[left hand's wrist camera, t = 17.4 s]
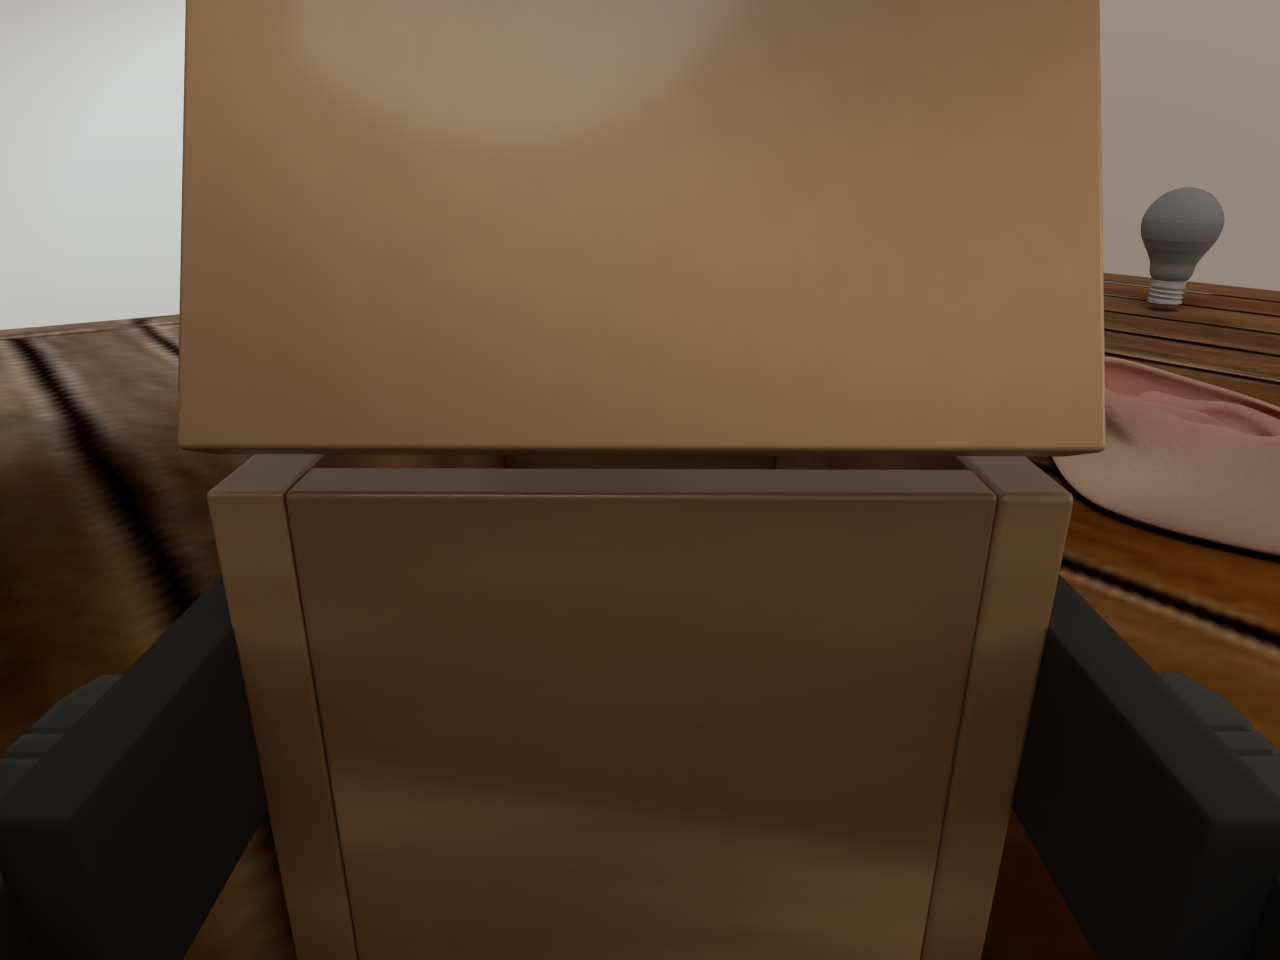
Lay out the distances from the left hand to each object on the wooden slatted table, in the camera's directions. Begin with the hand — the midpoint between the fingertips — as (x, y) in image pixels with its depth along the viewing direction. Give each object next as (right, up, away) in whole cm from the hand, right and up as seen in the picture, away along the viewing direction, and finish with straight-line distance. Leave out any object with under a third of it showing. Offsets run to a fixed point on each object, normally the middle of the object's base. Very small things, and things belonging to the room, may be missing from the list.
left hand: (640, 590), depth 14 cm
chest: (0, -4, +7) cm, 8 cm away
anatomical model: (+23, +1, +21) cm, 32 cm away
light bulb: (+46, +17, +62) cm, 79 cm away
